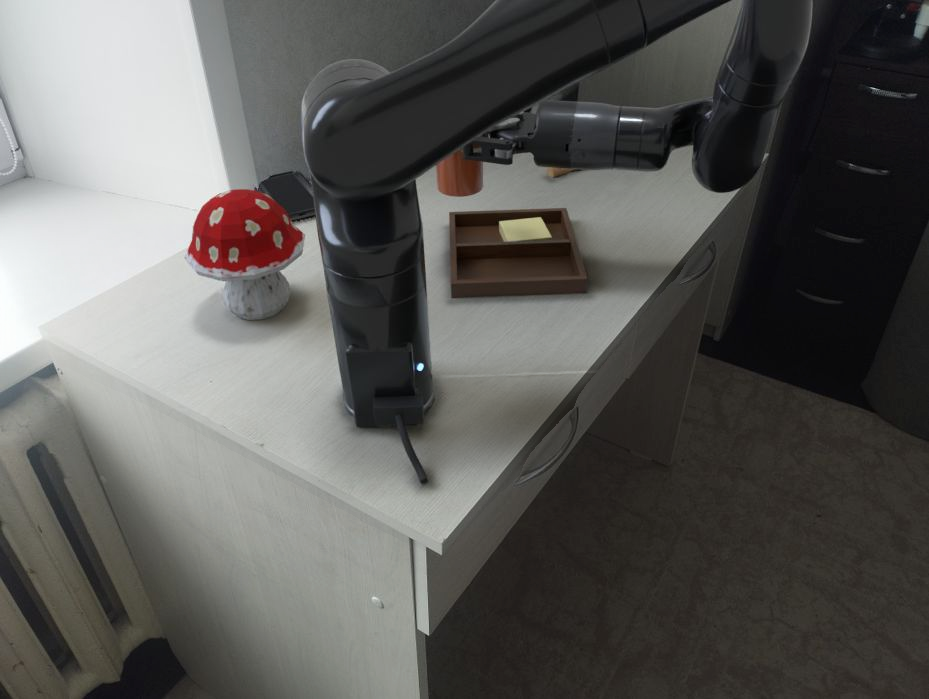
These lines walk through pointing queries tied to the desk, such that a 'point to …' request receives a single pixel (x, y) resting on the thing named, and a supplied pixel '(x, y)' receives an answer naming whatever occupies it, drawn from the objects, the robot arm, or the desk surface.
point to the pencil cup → (459, 175)
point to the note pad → (524, 230)
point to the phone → (290, 193)
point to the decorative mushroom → (246, 250)
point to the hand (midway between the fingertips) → (438, 127)
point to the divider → (513, 249)
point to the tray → (513, 271)
